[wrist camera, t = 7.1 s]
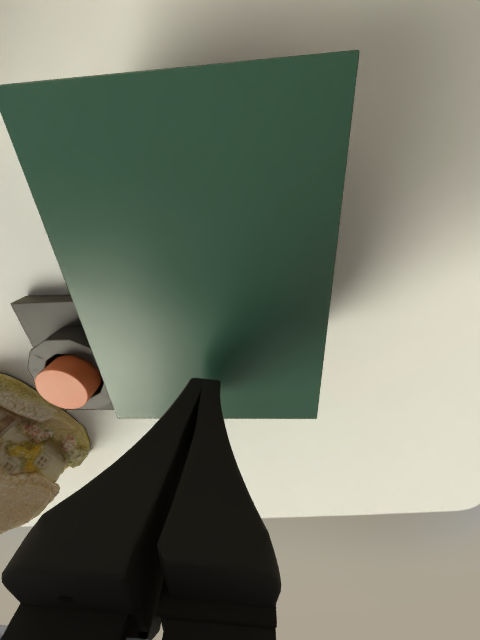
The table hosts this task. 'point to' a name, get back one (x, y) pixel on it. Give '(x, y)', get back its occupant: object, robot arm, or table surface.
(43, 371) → the button
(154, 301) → the lid
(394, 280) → the table surface
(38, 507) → the ceramic model
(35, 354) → the switch block
